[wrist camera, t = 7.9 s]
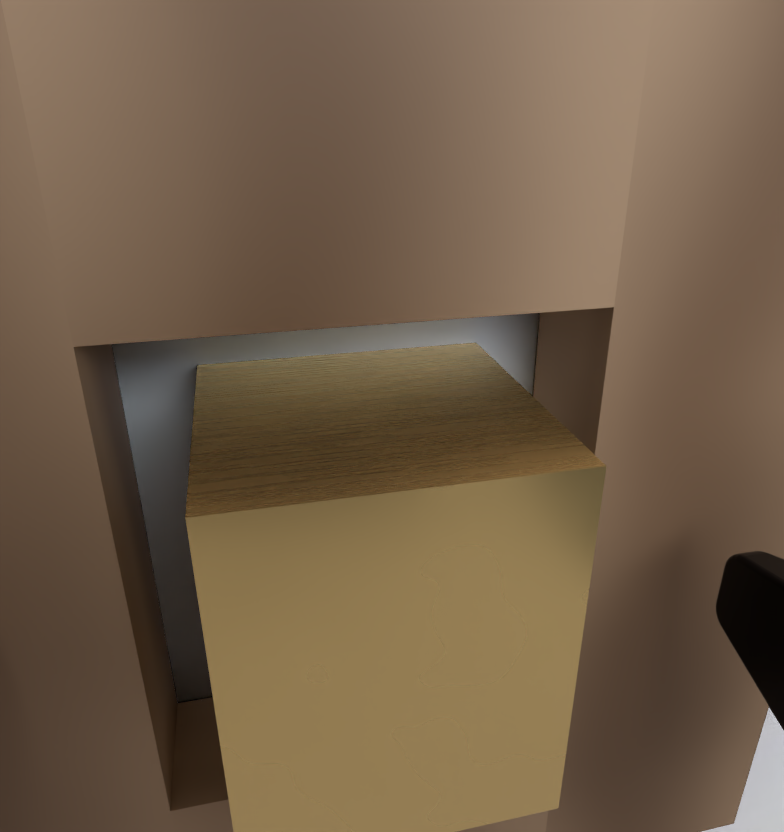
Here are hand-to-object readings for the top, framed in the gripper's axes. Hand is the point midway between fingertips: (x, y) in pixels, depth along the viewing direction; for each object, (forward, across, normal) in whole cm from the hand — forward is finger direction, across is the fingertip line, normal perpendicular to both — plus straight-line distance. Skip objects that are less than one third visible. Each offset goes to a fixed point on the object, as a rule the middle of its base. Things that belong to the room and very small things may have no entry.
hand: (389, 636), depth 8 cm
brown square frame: (+3, 0, 0) cm, 3 cm away
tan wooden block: (+3, 0, 0) cm, 3 cm away
